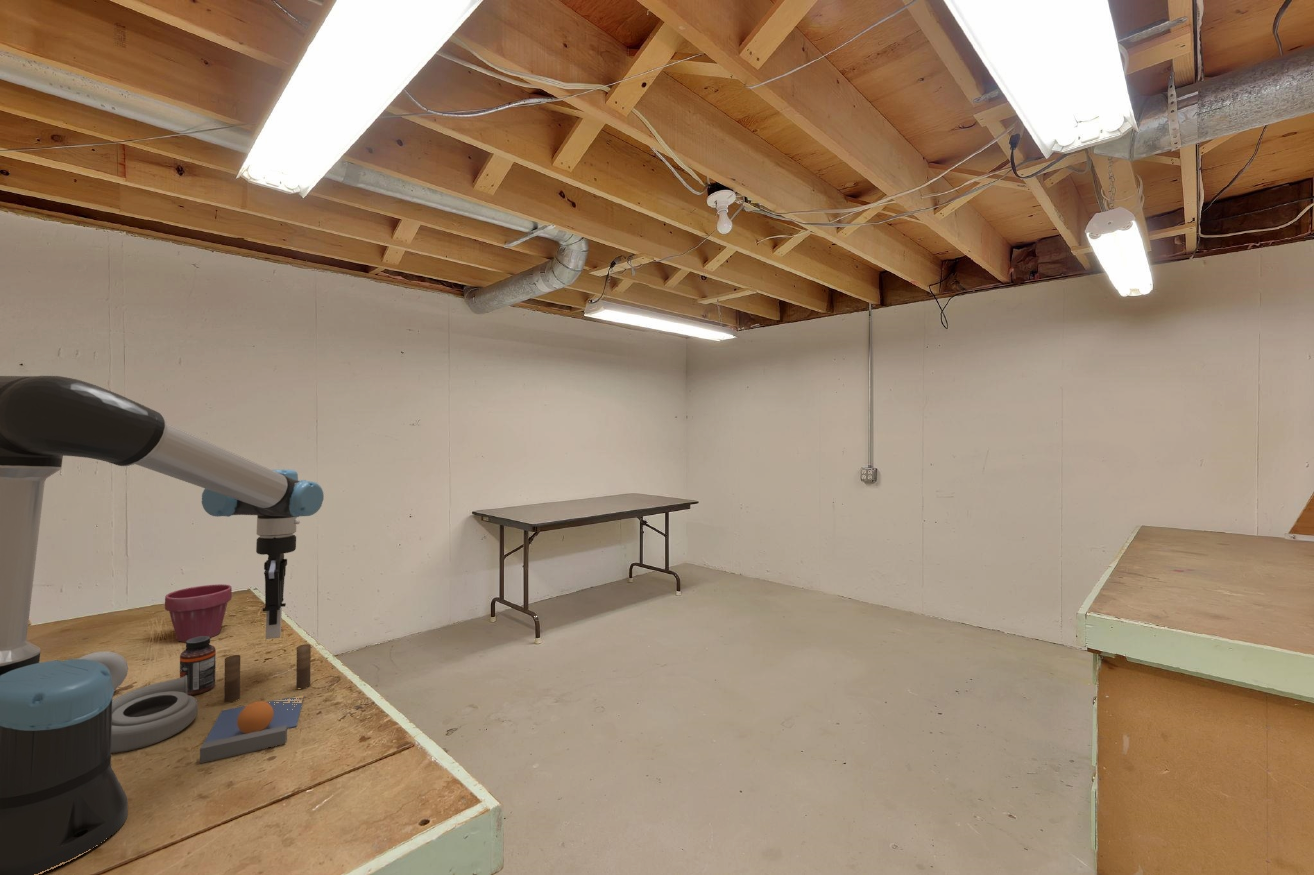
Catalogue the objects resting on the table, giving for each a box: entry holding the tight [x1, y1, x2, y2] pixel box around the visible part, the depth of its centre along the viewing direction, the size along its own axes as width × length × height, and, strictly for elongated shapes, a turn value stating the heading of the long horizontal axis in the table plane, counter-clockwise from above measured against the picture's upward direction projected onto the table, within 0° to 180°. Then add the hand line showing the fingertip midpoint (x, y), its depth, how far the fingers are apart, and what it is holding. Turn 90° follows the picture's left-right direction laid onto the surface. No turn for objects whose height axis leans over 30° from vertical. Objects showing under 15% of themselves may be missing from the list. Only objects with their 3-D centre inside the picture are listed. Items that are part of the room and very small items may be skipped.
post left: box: [223, 654, 241, 703], centre depth 111 cm, size 3×3×9 cm
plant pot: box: [164, 583, 233, 643], centre depth 147 cm, size 14×14×13 cm
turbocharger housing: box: [111, 675, 199, 754], centre depth 100 cm, size 17×6×15 cm
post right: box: [295, 643, 312, 689], centre depth 117 cm, size 3×3×9 cm
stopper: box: [199, 725, 288, 764], centre depth 93 cm, size 2×12×2 cm, turn 119°
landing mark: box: [203, 697, 305, 743], centre depth 103 cm, size 14×14×1 cm
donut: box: [78, 650, 129, 691], centre depth 111 cm, size 10×4×10 cm, turn 138°
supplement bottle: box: [179, 636, 217, 696], centre depth 115 cm, size 6×6×11 cm
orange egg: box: [237, 700, 274, 734], centre depth 99 cm, size 6×6×6 cm
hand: (273, 637), depth 121 cm, fingers closed
